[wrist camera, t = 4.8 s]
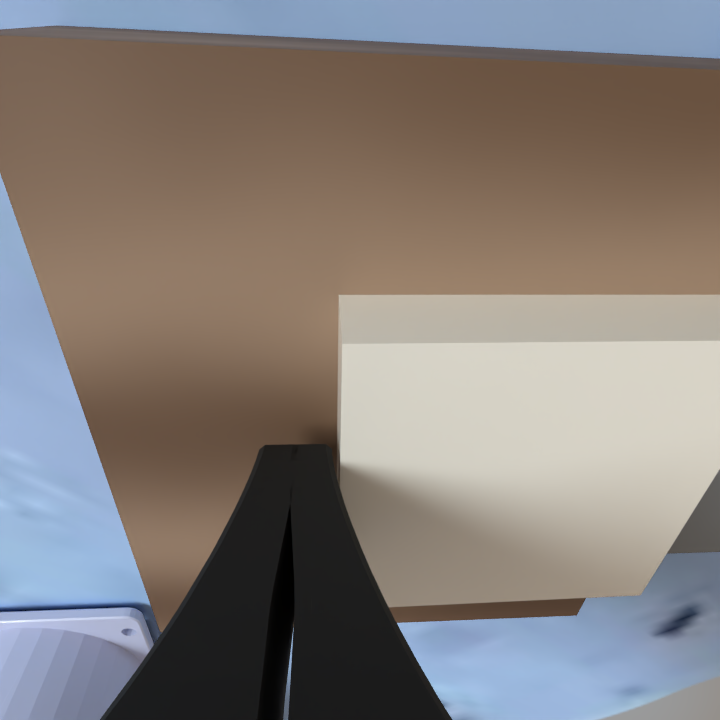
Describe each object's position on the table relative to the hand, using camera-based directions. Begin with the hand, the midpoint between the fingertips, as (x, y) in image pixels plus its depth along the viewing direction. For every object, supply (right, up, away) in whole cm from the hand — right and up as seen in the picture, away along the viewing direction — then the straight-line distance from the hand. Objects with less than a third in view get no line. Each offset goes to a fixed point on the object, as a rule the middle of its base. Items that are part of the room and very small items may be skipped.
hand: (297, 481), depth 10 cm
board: (+2, +2, +3) cm, 4 cm away
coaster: (+4, +1, +1) cm, 4 cm away
